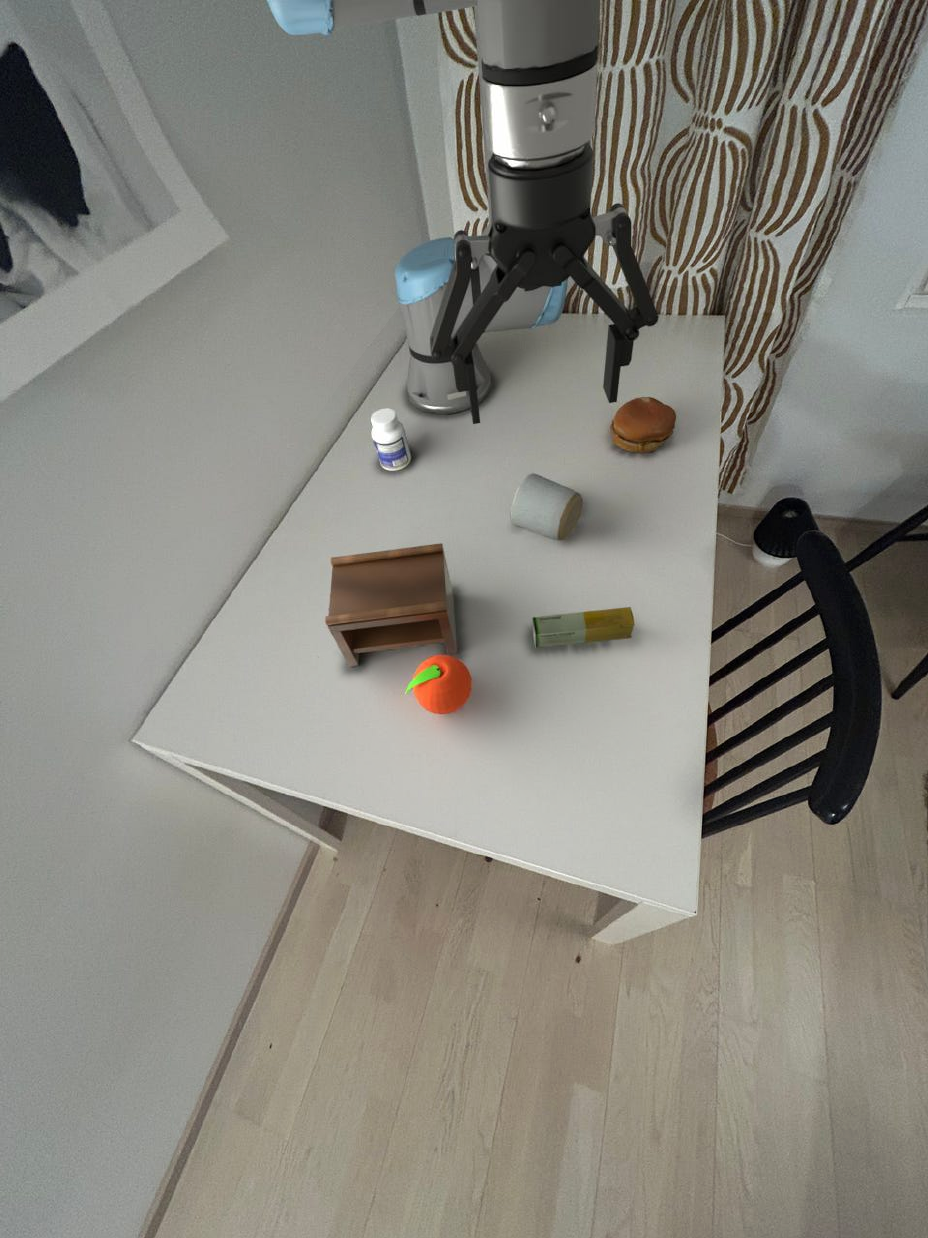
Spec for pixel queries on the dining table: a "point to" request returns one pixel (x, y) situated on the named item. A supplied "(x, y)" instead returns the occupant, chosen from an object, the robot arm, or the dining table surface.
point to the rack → (391, 601)
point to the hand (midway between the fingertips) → (542, 405)
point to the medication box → (583, 627)
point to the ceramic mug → (546, 507)
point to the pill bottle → (390, 440)
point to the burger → (643, 425)
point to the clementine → (441, 684)
